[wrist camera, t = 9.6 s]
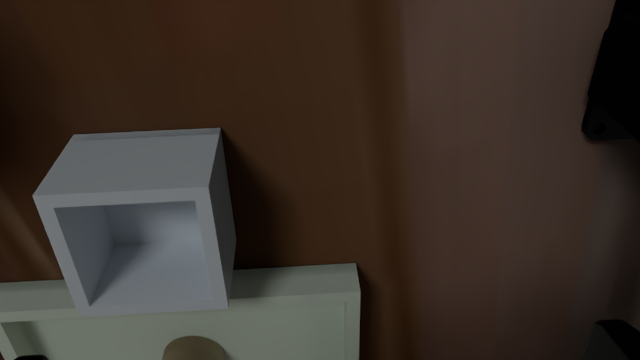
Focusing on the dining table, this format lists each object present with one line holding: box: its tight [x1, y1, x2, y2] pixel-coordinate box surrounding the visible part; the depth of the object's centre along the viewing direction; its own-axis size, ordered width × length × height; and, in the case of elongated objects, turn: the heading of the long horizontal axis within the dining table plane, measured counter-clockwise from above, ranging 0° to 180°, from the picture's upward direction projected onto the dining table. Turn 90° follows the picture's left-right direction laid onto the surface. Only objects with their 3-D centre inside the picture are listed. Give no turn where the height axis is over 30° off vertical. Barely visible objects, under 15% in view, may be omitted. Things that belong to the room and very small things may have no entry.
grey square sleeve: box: [33, 128, 236, 317], centre depth 20 cm, size 6×6×4 cm
